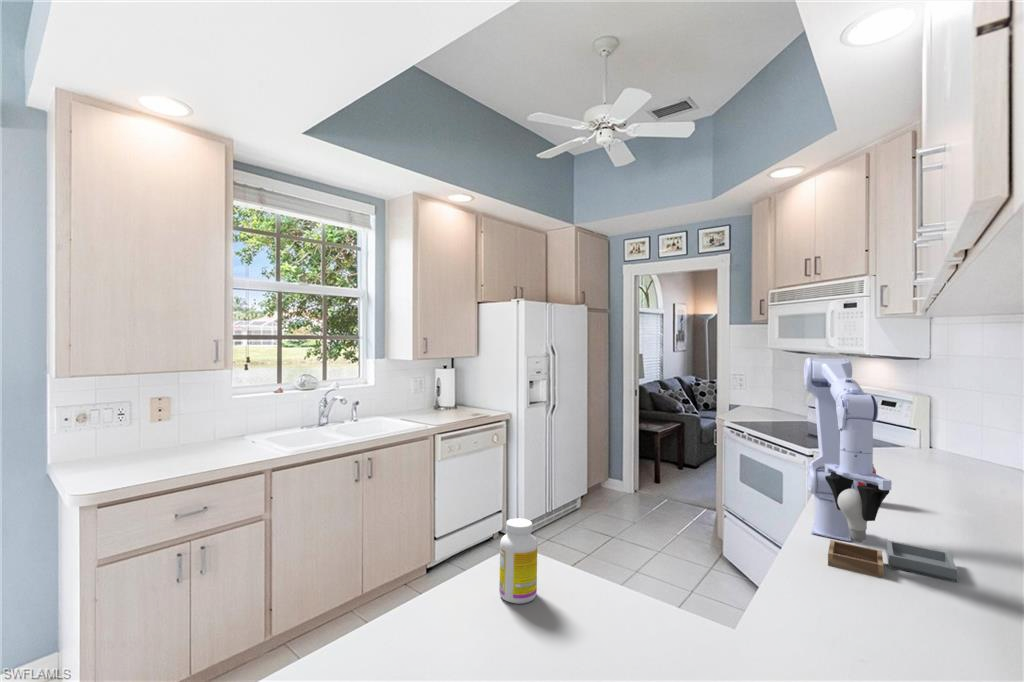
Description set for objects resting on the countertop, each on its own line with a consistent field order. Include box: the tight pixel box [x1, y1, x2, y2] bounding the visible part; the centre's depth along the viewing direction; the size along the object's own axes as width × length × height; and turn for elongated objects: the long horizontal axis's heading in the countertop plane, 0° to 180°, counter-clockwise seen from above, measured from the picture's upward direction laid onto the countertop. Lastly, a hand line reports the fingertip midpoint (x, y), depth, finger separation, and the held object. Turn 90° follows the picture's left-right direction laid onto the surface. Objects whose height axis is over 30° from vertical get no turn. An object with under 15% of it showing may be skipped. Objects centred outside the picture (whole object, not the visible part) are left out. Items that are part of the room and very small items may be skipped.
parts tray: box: [886, 539, 958, 583], centre depth 101 cm, size 11×11×2 cm
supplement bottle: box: [498, 517, 538, 605], centre depth 85 cm, size 7×7×13 cm
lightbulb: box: [838, 489, 868, 543], centre depth 101 cm, size 6×6×11 cm
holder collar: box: [827, 539, 884, 579], centre depth 101 cm, size 9×9×2 cm
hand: (855, 514), depth 102 cm, fingers closed on lightbulb, 6 cm apart
